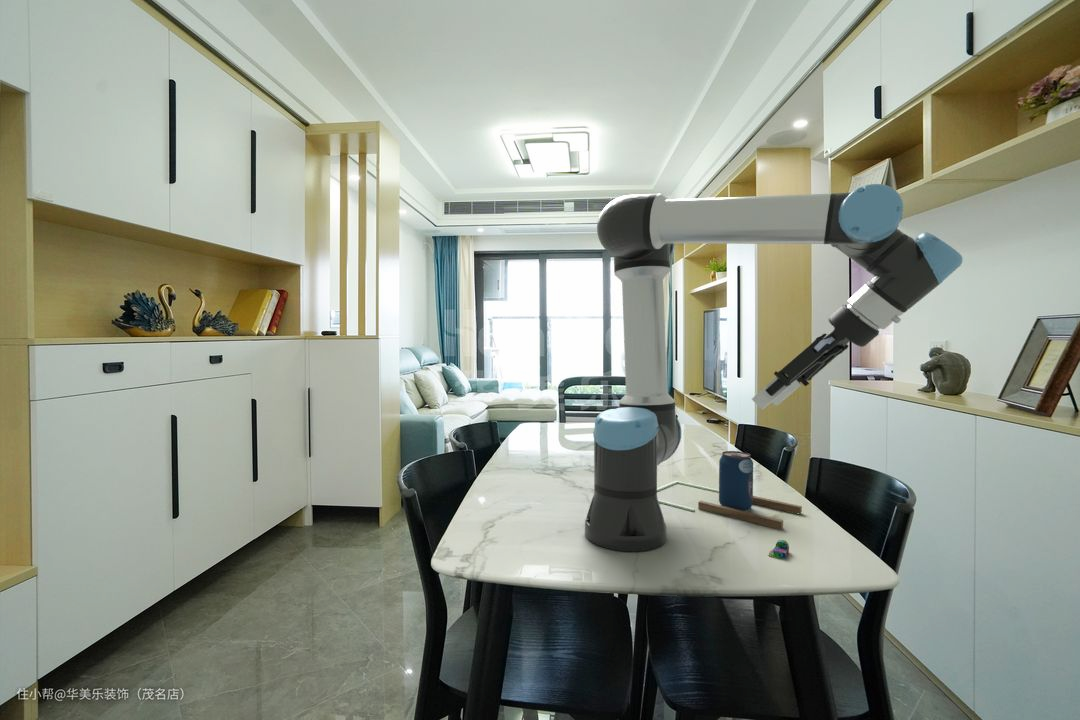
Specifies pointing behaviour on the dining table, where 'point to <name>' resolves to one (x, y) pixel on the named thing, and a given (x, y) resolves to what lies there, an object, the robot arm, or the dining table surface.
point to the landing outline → (683, 484)
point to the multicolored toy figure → (780, 550)
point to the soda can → (736, 480)
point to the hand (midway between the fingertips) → (764, 402)
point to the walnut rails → (751, 516)
